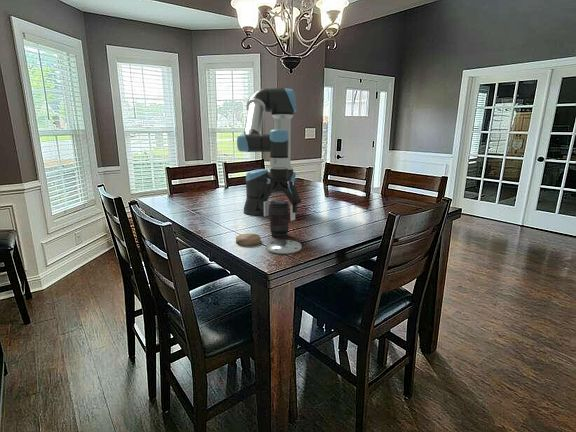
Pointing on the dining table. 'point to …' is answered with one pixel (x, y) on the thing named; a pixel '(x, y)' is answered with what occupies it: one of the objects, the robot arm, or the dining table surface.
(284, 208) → the camera lens
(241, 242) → the walnut coaster
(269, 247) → the mount flange
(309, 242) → the dining table surface
